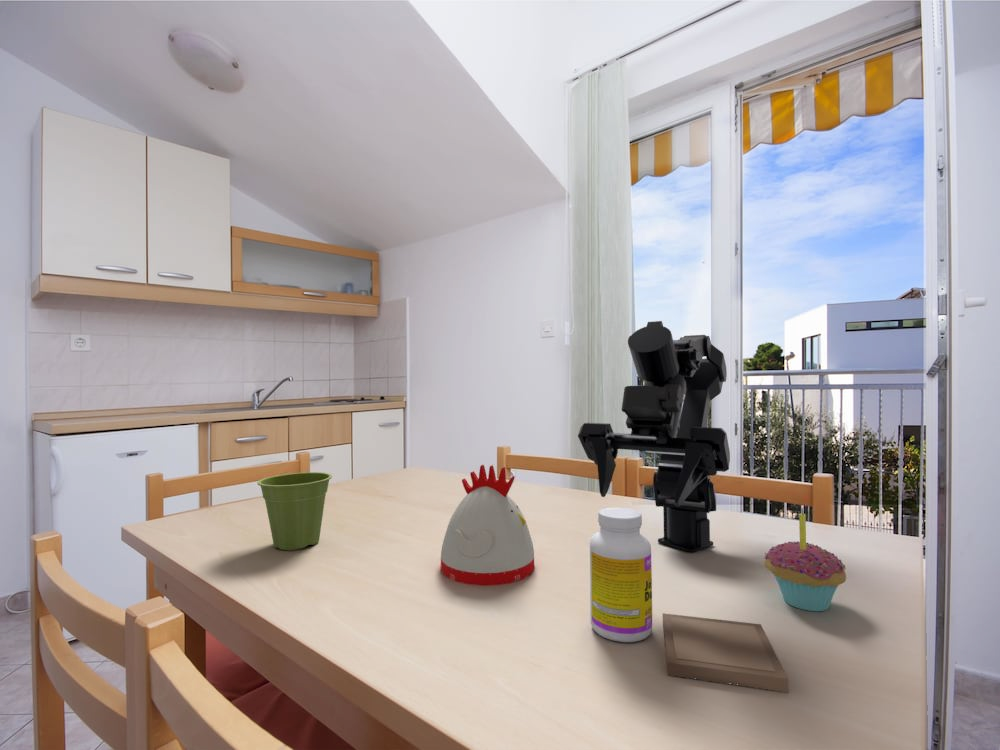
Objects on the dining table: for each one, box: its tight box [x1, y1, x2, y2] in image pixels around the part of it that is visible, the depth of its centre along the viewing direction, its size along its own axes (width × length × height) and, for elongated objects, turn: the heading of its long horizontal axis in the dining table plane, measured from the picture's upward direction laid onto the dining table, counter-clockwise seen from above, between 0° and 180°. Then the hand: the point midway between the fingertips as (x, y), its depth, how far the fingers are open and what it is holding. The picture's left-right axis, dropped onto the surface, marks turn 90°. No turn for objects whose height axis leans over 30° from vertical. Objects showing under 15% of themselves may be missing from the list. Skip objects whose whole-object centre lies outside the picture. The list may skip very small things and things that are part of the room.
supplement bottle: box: [589, 506, 653, 643], centre depth 55 cm, size 7×7×13 cm
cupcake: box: [764, 507, 847, 612], centre depth 61 cm, size 9×8×12 cm
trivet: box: [662, 613, 789, 693], centre depth 49 cm, size 10×10×1 cm
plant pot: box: [256, 471, 333, 551], centre depth 85 cm, size 12×12×11 cm
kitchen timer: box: [440, 464, 535, 587], centre depth 74 cm, size 14×14×15 cm
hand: (637, 499), depth 61 cm, fingers open, 9 cm apart
